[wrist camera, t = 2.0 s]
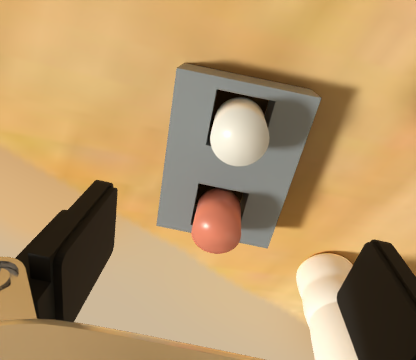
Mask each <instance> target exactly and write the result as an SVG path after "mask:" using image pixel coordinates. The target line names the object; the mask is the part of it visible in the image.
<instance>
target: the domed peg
mask: <svg viewBox="0 0 416 360" xmlns="http://www.w3.org/2000/svg"><path fill="white" fill-rule="evenodd" d="M210 143H211V147H212V150H213V152H214V153H215V155H216V156H217V157H218V158H219V159H220V160H221V161H223V162H224V163H226V164H229V165H232V166H247V165H250V164H252V163H254V162H256V161H258V160H259V159H260V158H261V157H262V156H263V155H264V153H265V152H266V150H267V148H268V145H269V131H268V127H267V124H266V121H265V117H264V114H263V111H262V109H261V108H260V106H259V105H258V104H257V103H255V102H254V101H252V100H251V99H248V98H244V97H236V98H232V99H229V100H227V101H226V102H224V103H223V104H222V105H221V106H220V107H219V109H218V110H217V112H216V115H215V119H214V122H213V126H212V130H211V135H210Z"/></svg>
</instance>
